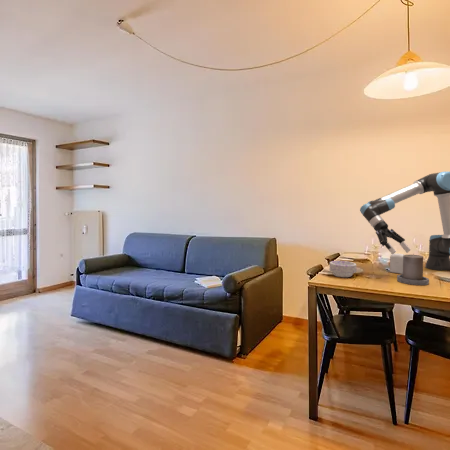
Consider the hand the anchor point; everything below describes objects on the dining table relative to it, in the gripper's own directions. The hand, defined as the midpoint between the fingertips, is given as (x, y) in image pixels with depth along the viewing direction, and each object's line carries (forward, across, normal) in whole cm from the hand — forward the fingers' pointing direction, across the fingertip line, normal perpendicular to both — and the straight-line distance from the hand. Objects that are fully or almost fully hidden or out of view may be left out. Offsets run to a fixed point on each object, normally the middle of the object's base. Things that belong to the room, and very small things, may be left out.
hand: (401, 252), depth 178 cm
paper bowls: (-4, +23, -27) cm, 35 cm away
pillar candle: (+15, 0, -6) cm, 16 cm away
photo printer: (+3, -16, -20) cm, 25 cm away
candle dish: (+16, 0, -6) cm, 17 cm away
